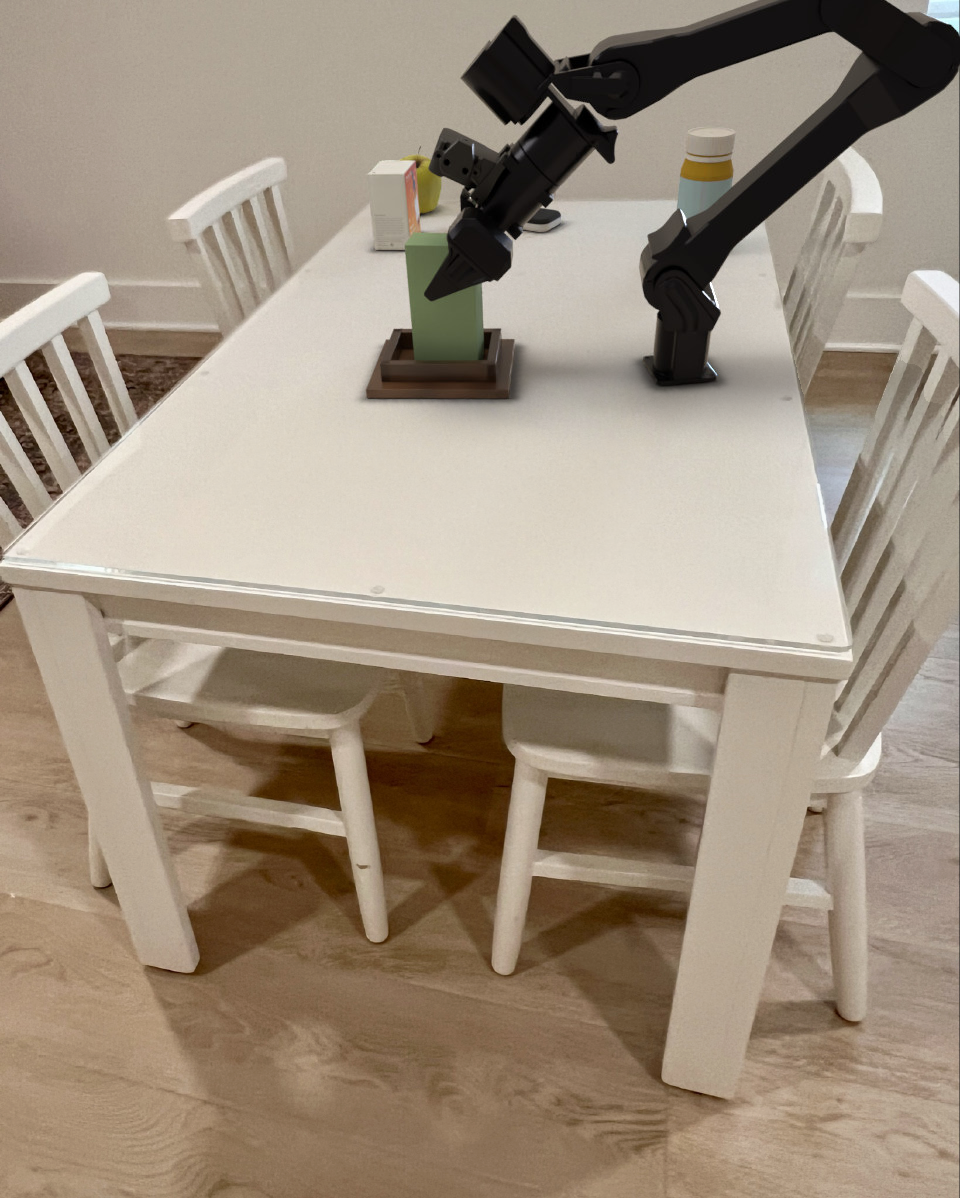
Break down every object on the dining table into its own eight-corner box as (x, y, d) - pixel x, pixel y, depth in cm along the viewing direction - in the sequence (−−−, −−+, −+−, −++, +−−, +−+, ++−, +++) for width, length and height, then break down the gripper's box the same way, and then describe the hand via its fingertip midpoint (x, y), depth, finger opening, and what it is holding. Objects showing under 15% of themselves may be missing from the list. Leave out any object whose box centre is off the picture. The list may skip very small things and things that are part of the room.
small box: (411, 251, 130) (404, 173, 123) (373, 250, 131) (365, 173, 124) (422, 234, 136) (416, 159, 129) (386, 233, 137) (379, 159, 130)
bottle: (723, 257, 123) (739, 138, 113) (672, 256, 124) (683, 137, 114) (723, 241, 128) (738, 125, 118) (673, 240, 129) (684, 125, 120)
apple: (398, 196, 149) (409, 134, 142) (441, 213, 148) (454, 152, 141) (379, 210, 143) (390, 146, 136) (424, 228, 142) (437, 165, 136)
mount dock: (515, 346, 102) (514, 321, 100) (508, 398, 92) (508, 371, 90) (386, 347, 104) (383, 322, 102) (366, 398, 94) (363, 371, 92)
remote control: (545, 234, 134) (545, 220, 132) (473, 223, 139) (473, 209, 138) (564, 222, 138) (564, 209, 136) (494, 212, 143) (493, 199, 142)
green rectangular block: (423, 351, 100) (413, 232, 92) (484, 354, 99) (480, 233, 90) (415, 367, 97) (404, 244, 89) (478, 369, 96) (473, 246, 87)
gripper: (485, 77, 88) (387, 198, 96) (467, 118, 73) (354, 256, 81) (563, 162, 92) (463, 270, 100) (561, 216, 78) (445, 338, 86)
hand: (432, 281), depth 92 cm, fingers open, 9 cm apart
